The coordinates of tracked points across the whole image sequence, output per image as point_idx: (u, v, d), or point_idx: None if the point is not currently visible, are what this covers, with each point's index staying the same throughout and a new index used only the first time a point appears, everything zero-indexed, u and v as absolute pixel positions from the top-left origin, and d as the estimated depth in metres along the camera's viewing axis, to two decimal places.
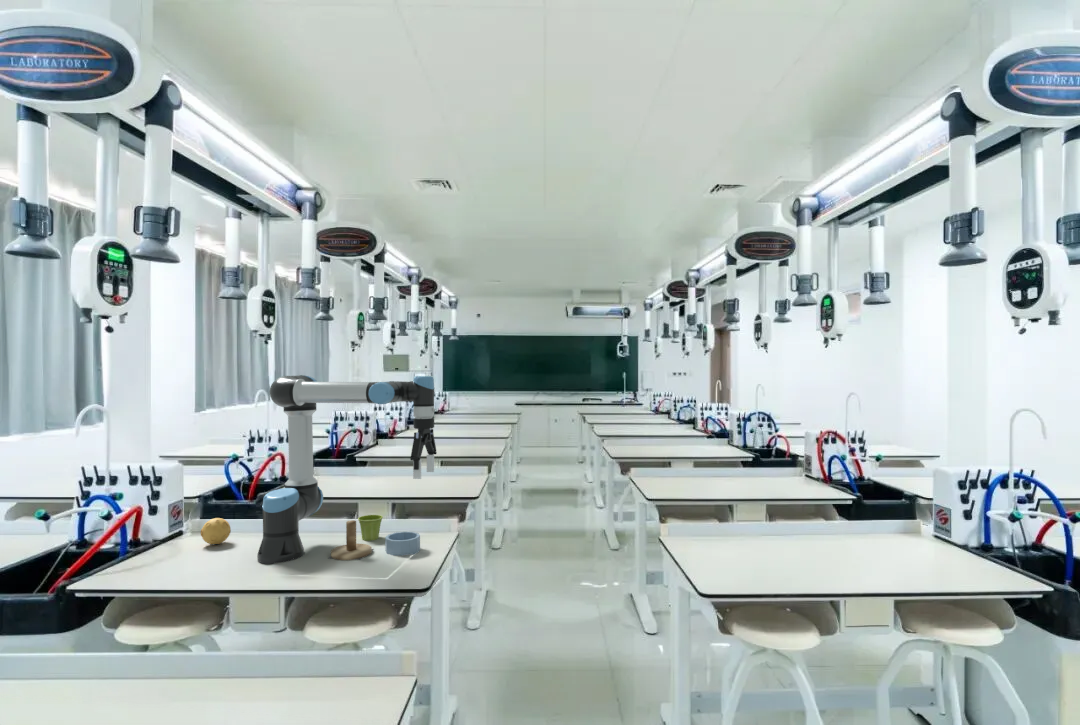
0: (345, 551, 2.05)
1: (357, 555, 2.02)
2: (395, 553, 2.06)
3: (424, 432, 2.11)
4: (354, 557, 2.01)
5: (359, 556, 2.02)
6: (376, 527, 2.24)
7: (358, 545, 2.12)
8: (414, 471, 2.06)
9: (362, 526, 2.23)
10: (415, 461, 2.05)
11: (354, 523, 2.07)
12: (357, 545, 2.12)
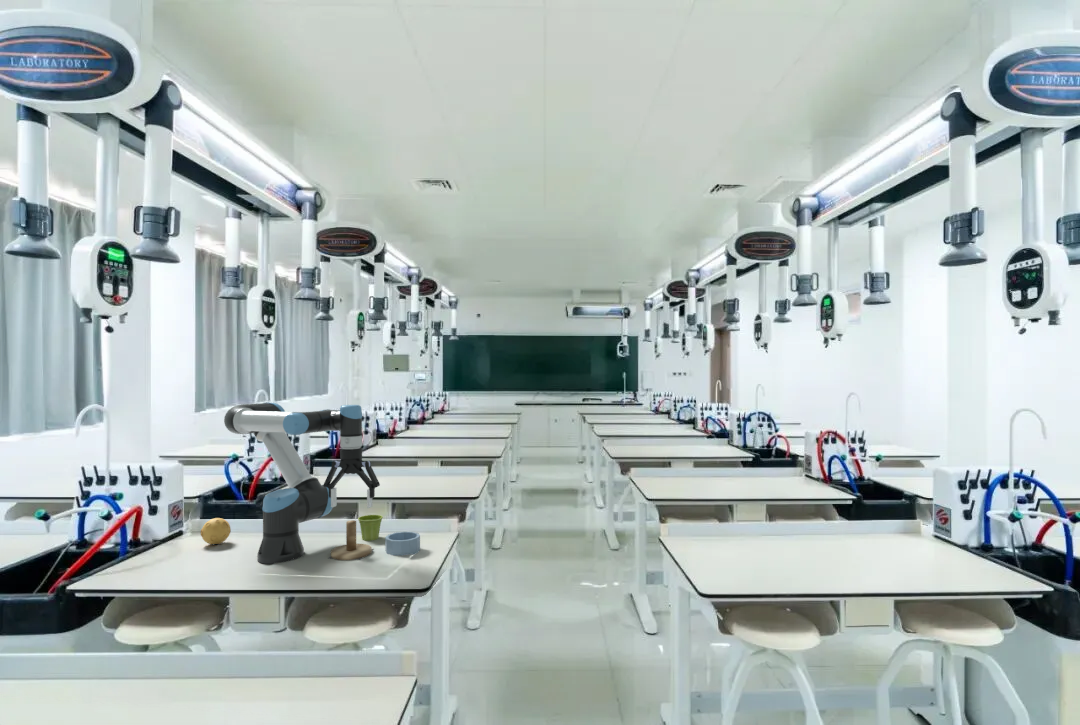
0: (345, 551, 2.05)
1: (357, 555, 2.02)
2: (395, 553, 2.06)
3: (343, 462, 2.07)
4: (354, 557, 2.01)
5: (359, 556, 2.02)
6: (376, 527, 2.24)
7: (358, 545, 2.12)
8: None
9: (362, 526, 2.23)
10: None
11: (354, 523, 2.07)
12: (357, 545, 2.12)
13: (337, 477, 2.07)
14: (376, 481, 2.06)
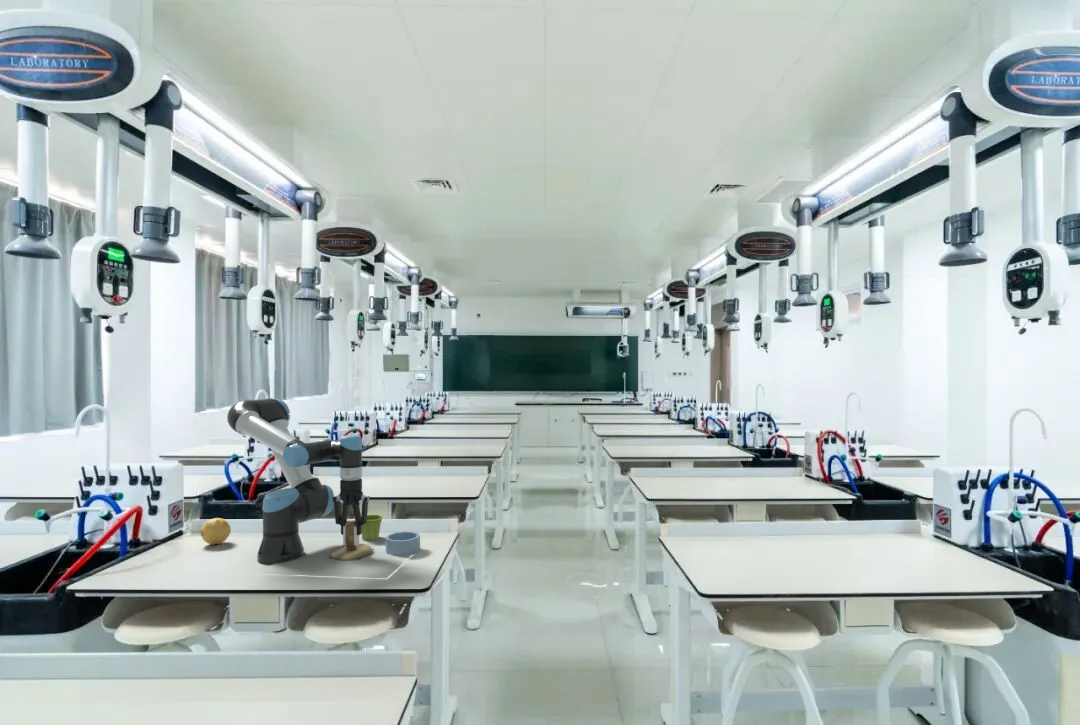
0: (345, 551, 2.05)
1: (357, 555, 2.02)
2: (395, 553, 2.06)
3: (343, 493, 2.07)
4: (354, 557, 2.01)
5: (359, 556, 2.02)
6: (376, 527, 2.24)
7: (358, 545, 2.12)
8: None
9: (362, 526, 2.23)
10: None
11: (354, 523, 2.07)
12: (357, 545, 2.12)
13: (344, 511, 2.07)
14: (365, 519, 2.07)
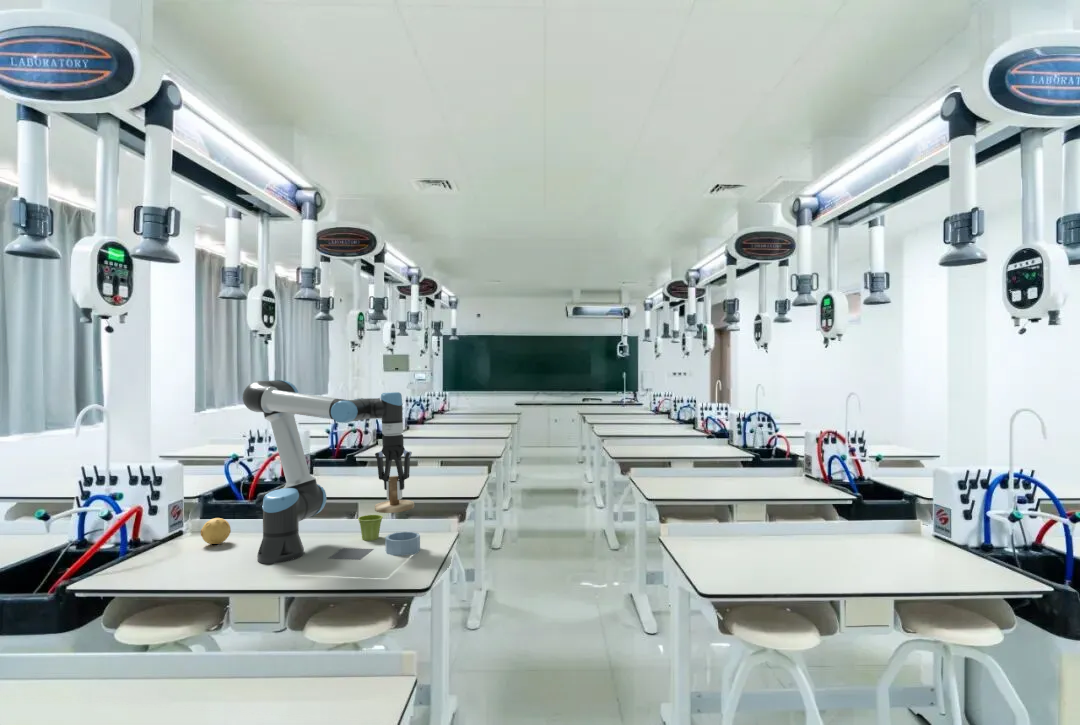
0: (389, 505, 2.08)
1: (401, 508, 2.05)
2: (395, 553, 2.06)
3: (385, 449, 2.10)
4: (398, 510, 2.04)
5: (403, 509, 2.05)
6: (376, 527, 2.24)
7: (400, 501, 2.15)
8: None
9: (362, 526, 2.23)
10: None
11: (397, 478, 2.10)
12: (399, 501, 2.15)
13: (386, 467, 2.10)
14: (407, 473, 2.10)
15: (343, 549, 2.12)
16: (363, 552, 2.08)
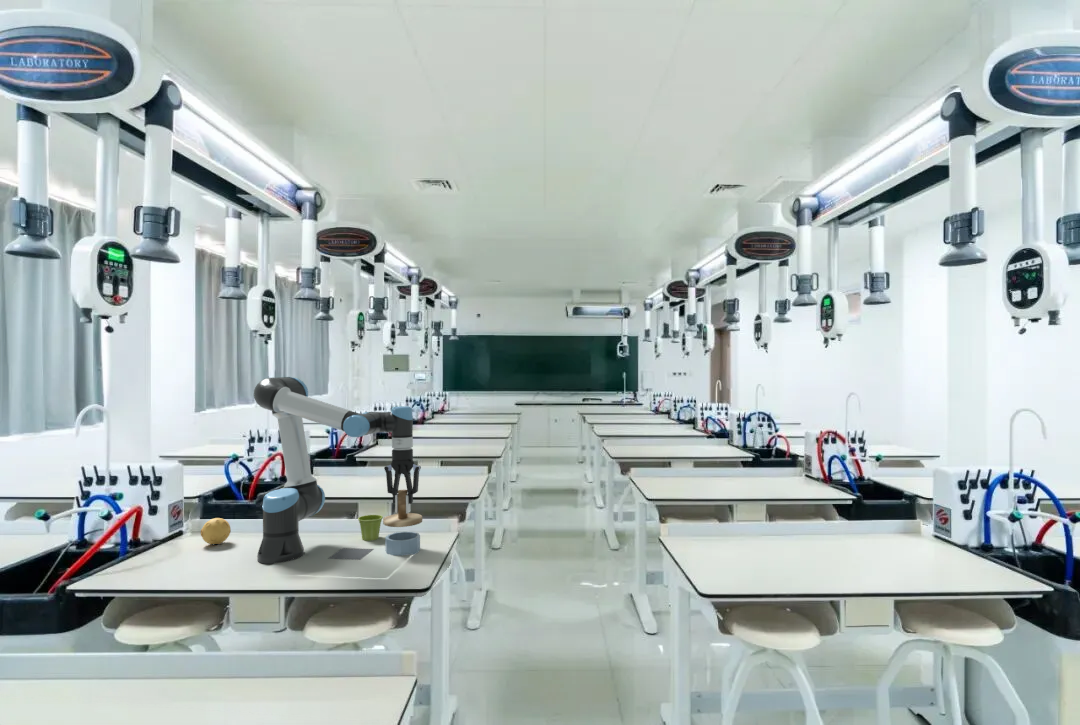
0: (397, 519, 2.09)
1: (410, 522, 2.06)
2: (395, 553, 2.06)
3: (395, 463, 2.11)
4: (407, 524, 2.05)
5: (412, 523, 2.06)
6: (376, 527, 2.24)
7: (408, 514, 2.16)
8: None
9: (362, 526, 2.23)
10: None
11: (406, 492, 2.11)
12: (407, 514, 2.16)
13: (395, 481, 2.11)
14: (416, 488, 2.11)
15: (343, 549, 2.12)
16: (363, 552, 2.08)
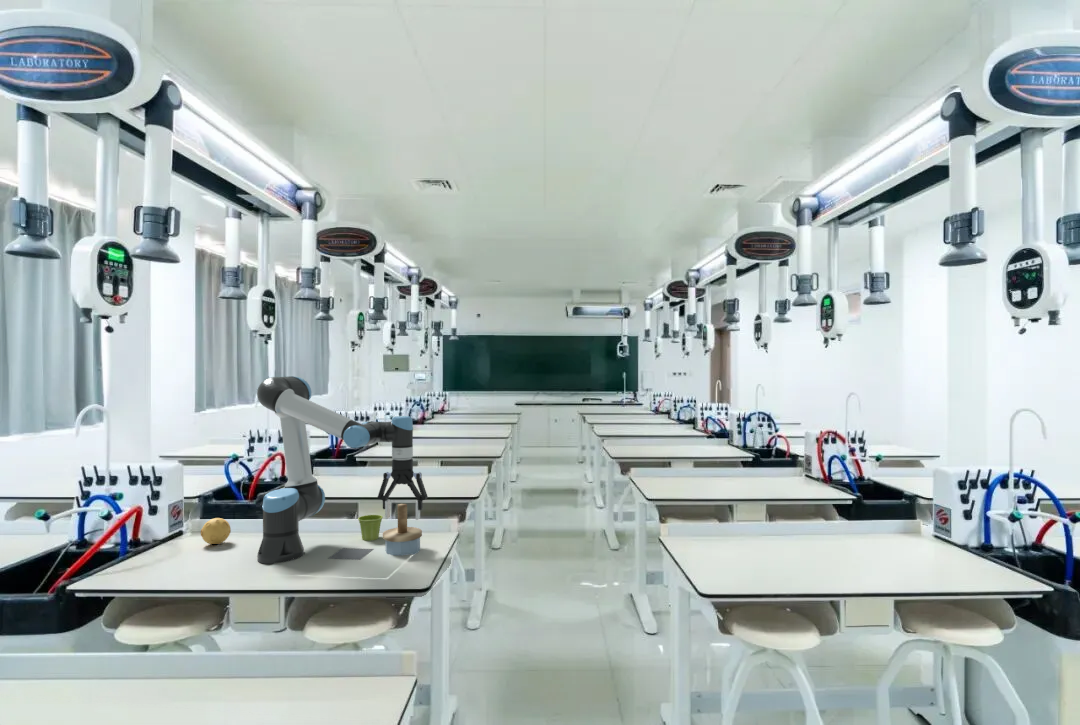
0: (397, 533, 2.09)
1: (409, 537, 2.06)
2: (395, 553, 2.06)
3: (395, 473, 2.11)
4: (407, 539, 2.05)
5: (411, 538, 2.06)
6: (376, 527, 2.24)
7: (408, 528, 2.16)
8: None
9: (362, 526, 2.23)
10: None
11: (405, 506, 2.11)
12: (407, 528, 2.16)
13: (390, 488, 2.11)
14: (425, 493, 2.10)
15: (343, 549, 2.12)
16: (363, 552, 2.08)
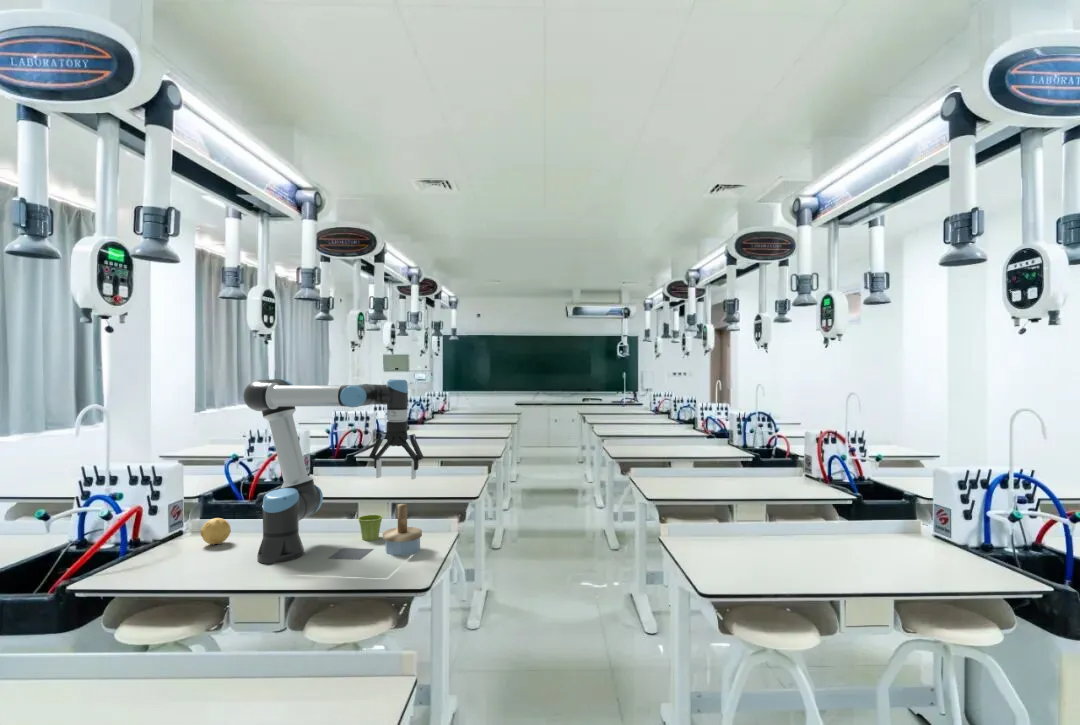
0: (397, 533, 2.09)
1: (409, 537, 2.06)
2: (395, 553, 2.06)
3: (389, 435, 2.14)
4: (407, 539, 2.05)
5: (411, 538, 2.06)
6: (376, 527, 2.24)
7: (408, 528, 2.16)
8: None
9: (362, 526, 2.23)
10: None
11: (405, 506, 2.11)
12: (407, 528, 2.16)
13: (383, 449, 2.14)
14: (420, 454, 2.13)
15: (343, 549, 2.12)
16: (363, 552, 2.08)
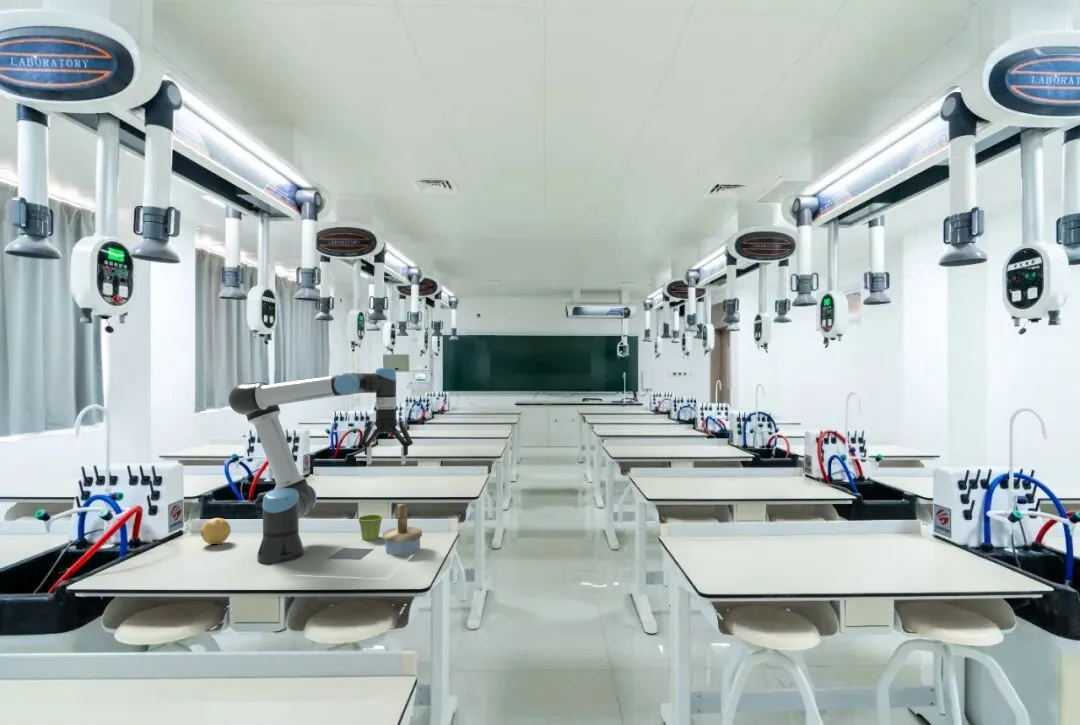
0: (397, 533, 2.09)
1: (409, 537, 2.06)
2: (395, 553, 2.06)
3: (378, 422, 2.19)
4: (407, 539, 2.05)
5: (411, 538, 2.06)
6: (376, 527, 2.24)
7: (408, 528, 2.16)
8: None
9: (362, 526, 2.23)
10: None
11: (405, 506, 2.11)
12: (407, 528, 2.16)
13: (373, 436, 2.19)
14: (409, 440, 2.19)
15: (343, 549, 2.12)
16: (363, 552, 2.08)
